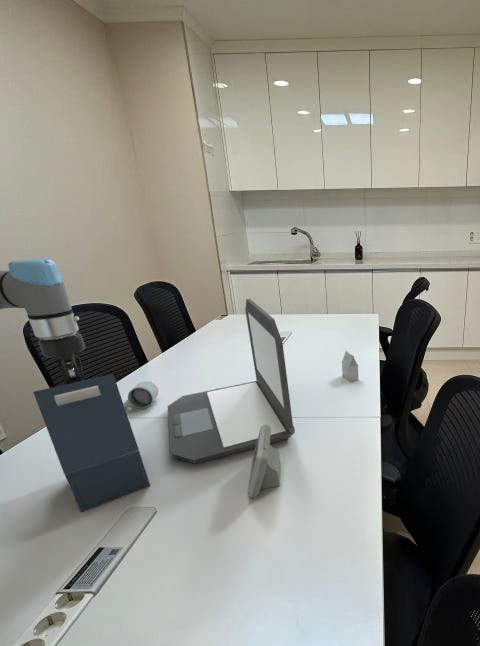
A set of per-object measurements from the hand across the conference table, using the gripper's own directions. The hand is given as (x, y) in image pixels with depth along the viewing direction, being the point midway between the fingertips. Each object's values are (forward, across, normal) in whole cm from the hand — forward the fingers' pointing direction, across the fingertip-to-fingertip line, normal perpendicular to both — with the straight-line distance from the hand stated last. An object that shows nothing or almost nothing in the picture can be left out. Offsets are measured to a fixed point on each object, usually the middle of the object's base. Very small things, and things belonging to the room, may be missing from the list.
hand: (93, 428), depth 92 cm
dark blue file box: (+13, -4, 0) cm, 14 cm away
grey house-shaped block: (+13, +9, -81) cm, 83 cm away
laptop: (+13, +7, -32) cm, 35 cm away
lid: (-6, -9, 0) cm, 11 cm away
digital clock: (+13, -27, -29) cm, 42 cm away
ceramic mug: (+13, +38, -14) cm, 43 cm away
